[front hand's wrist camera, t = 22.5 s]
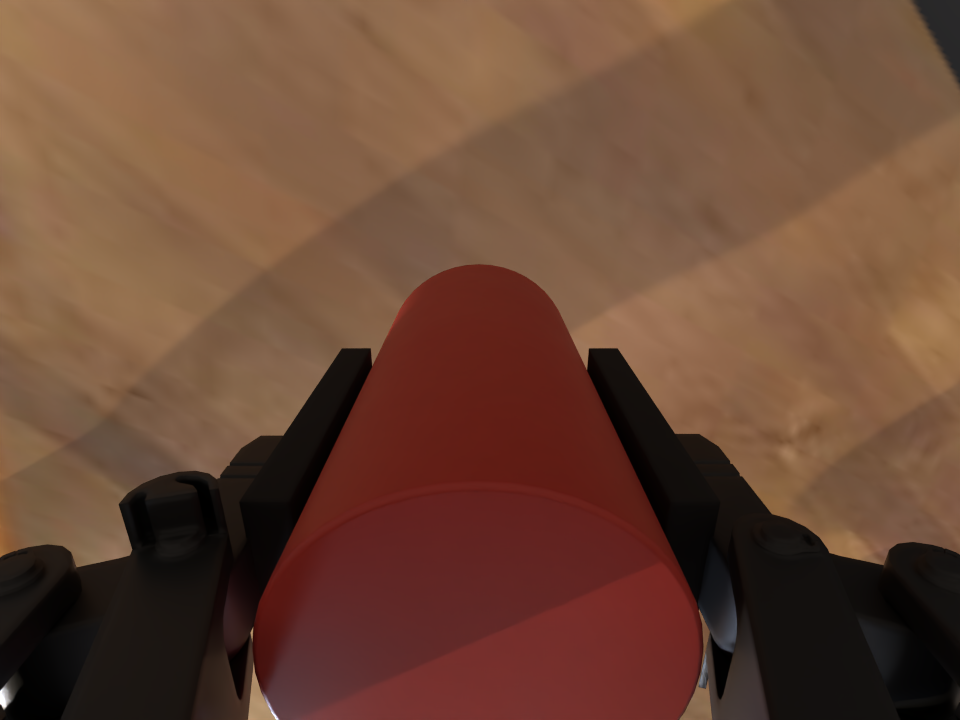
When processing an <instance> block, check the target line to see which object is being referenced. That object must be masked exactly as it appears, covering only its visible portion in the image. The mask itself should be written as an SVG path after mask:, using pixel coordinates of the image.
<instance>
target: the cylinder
mask: <svg viewBox="0 0 960 720" xmlns="http://www.w3.org/2000/svg"><path fill="white" fill-rule="evenodd" d="M252 650H253V659H254V667H255V673H256V676H257V680H258V683H259V686H260V689H261V692H262V694H263V696H264V698H265V700H266V702H267V704H268V706H269V708H270V710H271V712H272V714H273V715H274V716H275V718H276V719H277V720H679V719H680V717H681V716H682V715H683V713H684V712H685V710H686V708H687V706H688V704H689V702H690V700H691V698H692V696H693V694H694V692H695V688H696V685H697V682H698V679H699V675H700V672H701V664H702V656H703V633H702V622H701V618H700V614H699V610H698V606H697V602H696V600H695V598H694V596H693V593H692V591H691V589H690V587H689V585H688V582H687V580H686V578H685V576H684V574H683V572H682V570H681V568H680V565H679V563H678V561H677V559H676V557H675V555H674V553H673V551H672V549H671V546H670V544H669V542H668V540H667V538H666V536H665V534H664V532H663V530H662V528H661V525H660V523H659V521H658V519H657V517H656V515H655V513H654V511H653V509H652V506H651V504H650V502H649V500H648V498H647V496H646V494H645V492H644V490H643V488H642V485H641V483H640V481H639V479H638V477H637V475H636V473H635V471H634V469H633V466H632V464H631V462H630V460H629V458H628V456H627V454H626V452H625V450H624V448H623V445H622V443H621V441H620V439H619V437H618V435H617V433H616V431H615V429H614V426H613V424H612V422H611V420H610V418H609V416H608V414H607V412H606V410H605V408H604V405H603V403H602V401H601V399H600V397H599V395H598V393H597V391H596V389H595V386H594V384H593V382H592V380H591V378H590V376H589V374H588V372H587V370H586V368H585V365H584V363H583V361H582V359H581V357H580V355H579V353H578V351H577V349H576V346H575V344H574V342H573V340H572V338H571V336H570V334H569V332H568V330H567V328H566V325H565V323H564V321H563V319H562V317H561V315H560V313H559V311H558V309H557V307H556V306H555V304H554V303H553V301H552V300H551V299H550V297H549V296H548V295H547V294H546V293H545V291H543V290H542V289H541V288H540V287H539V286H538V285H537V284H536V283H534V282H533V281H531V280H530V279H528V278H527V277H525V276H523V275H521V274H519V273H517V272H515V271H512V270H509V269H506V268H503V267H498V266H493V265H480V264H478V265H465V266H460V267H455V268H452V269H449V270H446V271H443V272H441V273H439V274H437V275H435V276H433V277H431V278H430V279H428V280H427V281H425V282H424V283H422V284H421V285H420V286H419V287H418V288H417V289H415V290H414V291H413V292H412V294H411V295H410V296H409V297H408V298H407V299H406V301H405V302H404V304H403V305H402V307H401V309H400V310H399V312H398V314H397V316H396V319H395V321H394V323H393V325H392V327H391V329H390V331H389V333H388V335H387V337H386V339H385V341H384V343H383V345H382V348H381V350H380V352H379V354H378V356H377V358H376V360H375V362H374V364H373V366H372V368H371V370H370V372H369V374H368V377H367V379H366V381H365V383H364V385H363V387H362V389H361V391H360V393H359V395H358V397H357V399H356V401H355V403H354V405H353V408H352V410H351V412H350V414H349V416H348V418H347V420H346V422H345V424H344V426H343V428H342V430H341V432H340V434H339V437H338V439H337V441H336V443H335V445H334V447H333V449H332V451H331V453H330V455H329V457H328V459H327V461H326V463H325V466H324V468H323V470H322V472H321V474H320V476H319V478H318V480H317V482H316V484H315V486H314V488H313V490H312V492H311V494H310V497H309V499H308V501H307V503H306V505H305V507H304V509H303V511H302V513H301V515H300V517H299V519H298V521H297V523H296V526H295V528H294V530H293V532H292V534H291V536H290V538H289V540H288V542H287V544H286V546H285V548H284V550H283V552H282V555H281V557H280V559H279V561H278V563H277V565H276V567H275V569H274V571H273V573H272V575H271V577H270V579H269V581H268V584H267V586H266V588H265V590H264V593H263V595H262V597H261V599H260V601H259V605H258V609H257V613H256V617H255V621H254V627H253V644H252Z"/></svg>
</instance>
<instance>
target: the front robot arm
mask: <svg viewBox="0 0 960 720" xmlns="http://www.w3.org/2000/svg"><path fill="white" fill-rule="evenodd" d="M371 368H372V359H371V348H342V349H341V351H340V352H339V354H338V355H337V357H336V358H335V360H334V361H333V363H332V364H331V366H330V367H329V369H328V370H327V372H326V373H325V375H324V376H323V378H322V379H321V381H320V382H319V384H318V385H317V386H316V388H315V389H314V391H313V392H312V394H311V395H310V397H309V398H308V400H307V401H306V403H305V404H304V406H303V407H302V409H301V410H300V412H299V413H298V415H297V416H296V418H295V419H294V421H293V422H292V424H291V425H290V427H289V428H288V430H287V431H286V433H285V434H284V436H260V437H258V438H257V439H255V440H253V441H252V442H250V443H249V444H247V445H246V446H244V447H243V448H241V449H240V451H239V452H238V453H237V455H236V456H235V457H234V458H233V460H232V461H231V462H230V466H227V467H226V469H225V470H224V471H223V472H222V474H221V475H220V478H218V479H215V478H214V477H213V476H212V475H210V474H208V473H203V472H198V471H186V472H176V473H172V474H168V475H164V476H160V477H157V478H155V479H153V480H150V481H148V482H145V483H143V484H141V485H140V486H138V487H137V488H135V489H134V490H132V491H131V492H129V493H128V494H127V495H126V496H125V497H124V499H123V500H122V501H121V502H120V503H119V507H120V510H121V513H122V517H123V520H124V523H125V527H126V530H127V533H128V536H129V540H130V543H131V546H132V552H131V554H130V556H126V557H123V558H119V559H114V560H110V561H105V562H100V563H96V564H91V565H86V566H82V567H77V568H76V565H75V562H74V559H73V556H72V554H71V552H70V551H69V550H67V549H66V548H64V547H63V546H57V545H41V546H34V547H28V548H24V549H20V550H18V551H16V552H15V551H14V552H11V553H8V554H6V555H4V556H2V557H0V703H1V705H0V720H248V713H249V703H250V693H251V683H252V673H253V663H254V659H253V650H252V644H253V643H252V638H251V634H250V632H251V630H252V628H253V626H254V621H255V617H256V613H257V609H258V605H259V601H260V599H261V597H262V595H263V593H264V590H265V588H266V586H267V584H268V581H269V579H270V577H271V575H272V573H273V571H274V569H275V567H276V565H277V563H278V561H279V559H280V557H281V555H282V552H283V550H284V548H285V546H286V544H287V542H288V540H289V538H290V536H291V534H292V532H293V530H294V528H295V526H296V523H297V521H298V519H299V517H300V515H301V513H302V511H303V509H304V507H305V505H306V503H307V501H308V499H309V497H310V494H311V492H312V490H313V488H314V486H315V484H316V482H317V480H318V478H319V476H320V474H321V472H322V470H323V468H324V466H325V463H326V461H327V459H328V457H329V455H330V453H331V451H332V449H333V447H334V445H335V443H336V441H337V439H338V437H339V434H340V432H341V430H342V428H343V426H344V424H345V422H346V420H347V418H348V416H349V414H350V412H351V410H352V408H353V405H354V403H355V401H356V399H357V397H358V395H359V393H360V391H361V389H362V387H363V385H364V383H365V381H366V379H367V377H368V374H369V372H370V370H371ZM587 372H588V374H589V376H590V378H591V380H592V382H593V384H594V386H595V389H596V391H597V393H598V395H599V397H600V399H601V401H602V403H603V405H604V408H605V410H606V412H607V414H608V416H609V418H610V420H611V422H612V424H613V426H614V429H615V431H616V433H617V435H618V437H619V439H620V441H621V443H622V445H623V448H624V450H625V452H626V454H627V456H628V458H629V460H630V462H631V464H632V466H633V469H634V471H635V473H636V475H637V477H638V479H639V481H640V483H641V485H642V488H643V490H644V492H645V494H646V496H647V498H648V500H649V502H650V504H651V506H652V509H653V511H654V513H655V515H656V517H657V519H658V521H659V523H660V525H661V528H662V530H663V532H664V534H665V536H666V538H667V540H668V542H669V544H670V546H671V549H672V551H673V553H674V555H675V557H676V559H677V561H678V563H679V565H680V568H681V570H682V572H683V574H684V576H685V578H686V580H687V582H688V585H689V587H690V589H691V591H692V593H693V596H694V598H695V600H696V602H697V606H698V610H699V609H700V611H701V613H702V615H703V618H704V620H705V622H706V624H707V626H708V628H709V630H710V634H709V638H708V643H707V648H706V652H705V657H704V662H703V666H702V671H701V675H700V681H699V687H701V688H705V689H706V685H707V681H709V691H710V701H711V711H712V720H960V555H959V554H958V553H956V552H953V551H951V550H948V549H943V548H942V547H938V546H934V545H929V544H922V543H916V542H909V543H900V544H897V545H895V546H894V547H893V548H891V549H890V550H889V552H888V555H887V558H886V561H885V563H884V565H880V564H875V563H871V562H866V561H861V560H856V559H852V558H847V557H842V556H838V555H835V554H831V553H829V551H828V549H827V548H826V546H825V545H824V543H823V542H822V541H821V539H820V538H819V537H818V536H817V535H815V534H814V533H813V532H811V531H810V530H809V529H808V528H806V527H805V526H802V525H800V524H798V523H796V522H794V521H792V520H790V519H787V518H784V517H780V516H776V515H773V514H771V513H770V511H769V510H768V509H767V507H766V506H765V505H764V504H763V502H762V501H761V500H760V499H759V497H758V496H757V495H756V493H755V492H754V491H753V490H752V488H751V487H750V486H749V485H748V483H747V482H746V481H745V480H744V478H743V477H742V476H740V473H739V472H738V471H737V469H736V468H735V467H734V466H733V464H730V460H729V459H728V458H727V457H726V455H725V454H724V453H723V452H722V450H721V449H720V448H719V447H718V446H717V445H715V444H714V443H712V442H711V441H709V440H708V439H706V438H704V437H703V436H701V435H700V434H675V433H674V432H673V430H672V429H671V427H670V426H669V424H668V423H667V421H666V420H665V418H664V417H663V415H662V414H661V412H660V411H659V409H658V408H657V406H656V405H655V403H654V402H653V400H652V399H651V397H650V396H649V394H648V393H647V391H646V390H645V389H644V387H643V386H642V384H641V383H640V381H639V380H638V378H637V377H636V375H635V374H634V372H633V371H632V369H631V368H630V366H629V365H628V363H627V362H626V360H625V359H624V357H623V356H622V354H621V353H620V351H619V350H618V348H589V355H588V367H587Z"/></svg>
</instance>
